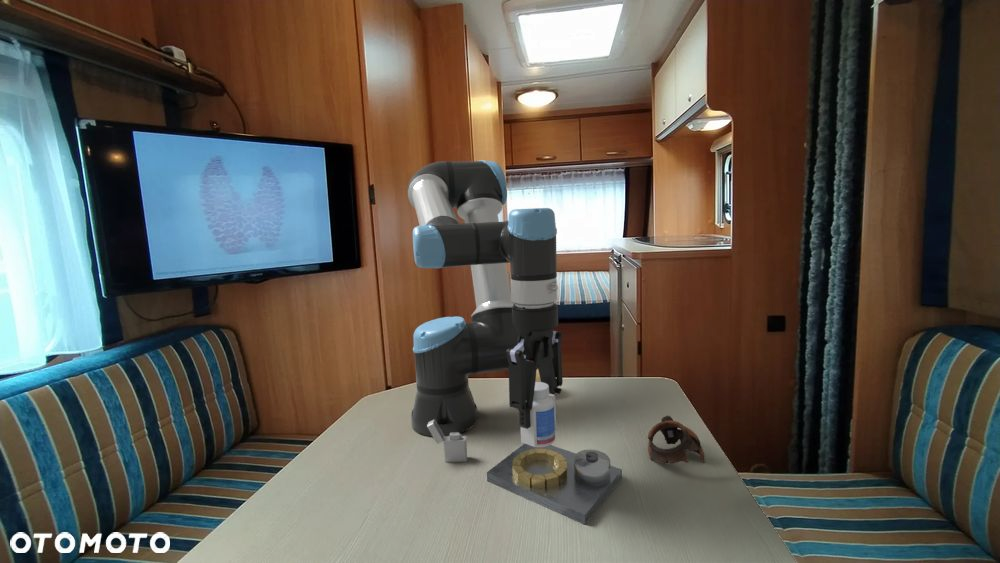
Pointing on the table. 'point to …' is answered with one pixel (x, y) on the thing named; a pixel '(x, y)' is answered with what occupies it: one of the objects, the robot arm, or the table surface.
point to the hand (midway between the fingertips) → (538, 435)
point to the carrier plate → (559, 494)
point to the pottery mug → (674, 442)
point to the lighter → (450, 443)
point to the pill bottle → (544, 415)
